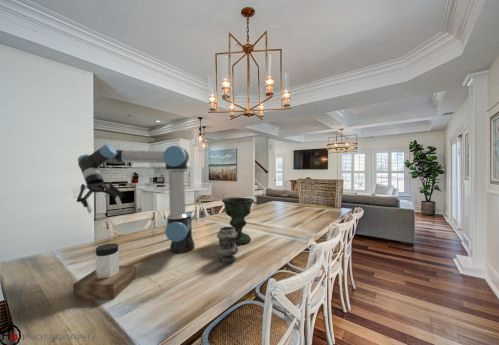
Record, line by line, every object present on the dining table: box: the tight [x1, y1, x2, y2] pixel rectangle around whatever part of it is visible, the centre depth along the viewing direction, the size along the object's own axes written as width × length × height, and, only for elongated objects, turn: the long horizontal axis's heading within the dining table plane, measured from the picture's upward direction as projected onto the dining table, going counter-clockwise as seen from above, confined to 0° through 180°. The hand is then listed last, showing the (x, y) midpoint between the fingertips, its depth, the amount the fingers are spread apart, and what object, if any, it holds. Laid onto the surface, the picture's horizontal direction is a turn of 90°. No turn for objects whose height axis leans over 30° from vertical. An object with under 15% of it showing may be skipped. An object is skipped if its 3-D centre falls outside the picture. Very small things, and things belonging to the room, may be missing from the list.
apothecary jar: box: [216, 225, 239, 264], centre depth 122 cm, size 12×12×18 cm
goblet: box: [221, 196, 255, 246], centre depth 153 cm, size 22×23×30 cm
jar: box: [94, 242, 120, 279], centre depth 93 cm, size 9×8×12 cm
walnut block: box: [72, 265, 136, 300], centre depth 93 cm, size 16×16×6 cm
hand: (106, 209), depth 107 cm, fingers open, 13 cm apart
